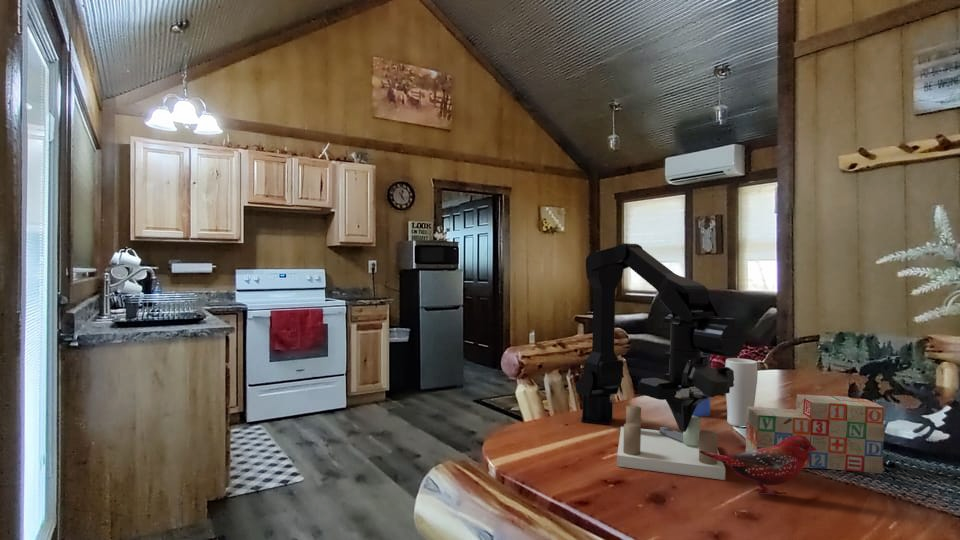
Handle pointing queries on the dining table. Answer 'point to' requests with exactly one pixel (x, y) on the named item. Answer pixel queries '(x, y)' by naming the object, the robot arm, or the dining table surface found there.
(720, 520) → the dining table surface
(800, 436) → the decorative bird figurine
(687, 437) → the hinged leg
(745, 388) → the drinking glass
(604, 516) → the dining table surface
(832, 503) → the dining table surface
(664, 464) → the stool seat
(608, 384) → the robot arm
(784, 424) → the stack of blocks
